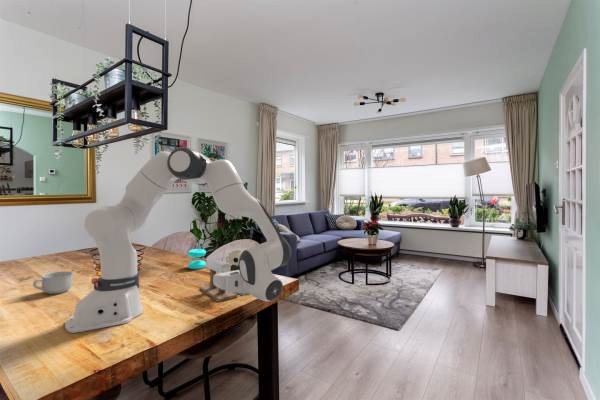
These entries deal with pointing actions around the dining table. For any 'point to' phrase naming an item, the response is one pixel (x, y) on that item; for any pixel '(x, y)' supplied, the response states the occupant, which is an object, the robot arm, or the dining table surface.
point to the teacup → (55, 282)
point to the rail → (217, 265)
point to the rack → (216, 290)
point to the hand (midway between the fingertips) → (231, 271)
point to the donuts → (197, 263)
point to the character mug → (234, 259)
